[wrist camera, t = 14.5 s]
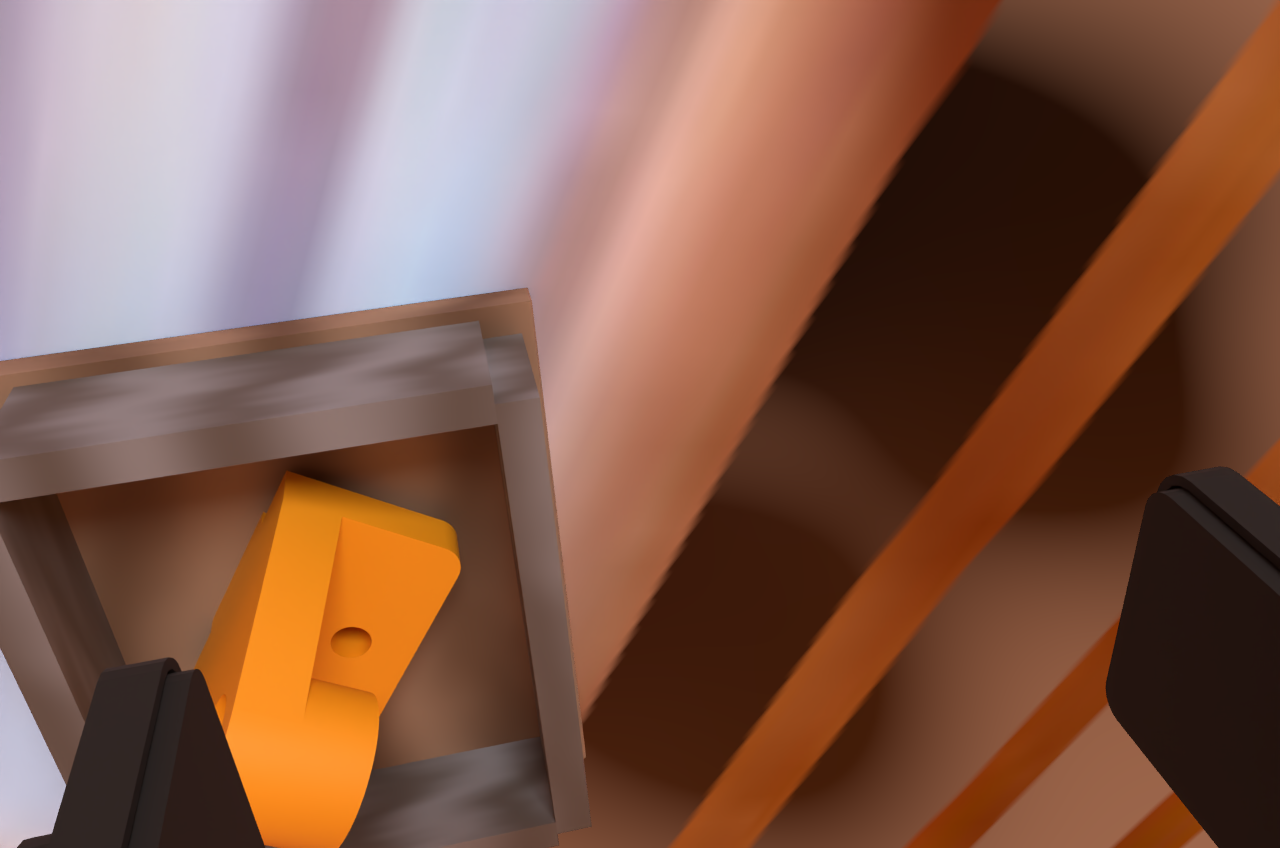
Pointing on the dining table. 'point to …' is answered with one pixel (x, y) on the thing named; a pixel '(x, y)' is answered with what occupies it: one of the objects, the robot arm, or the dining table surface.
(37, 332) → the dining table surface
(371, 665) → the bracket
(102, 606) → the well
